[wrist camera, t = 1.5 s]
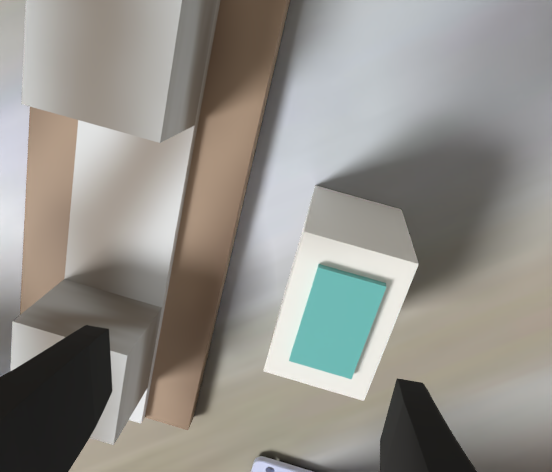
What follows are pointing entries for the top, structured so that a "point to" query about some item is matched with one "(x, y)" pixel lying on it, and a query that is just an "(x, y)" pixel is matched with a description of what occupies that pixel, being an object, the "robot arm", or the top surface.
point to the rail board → (138, 183)
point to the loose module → (342, 293)
